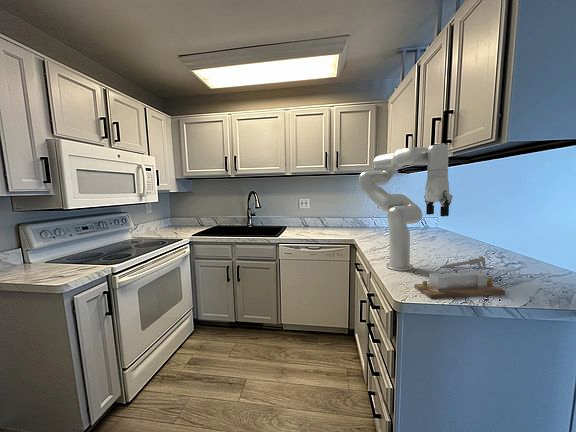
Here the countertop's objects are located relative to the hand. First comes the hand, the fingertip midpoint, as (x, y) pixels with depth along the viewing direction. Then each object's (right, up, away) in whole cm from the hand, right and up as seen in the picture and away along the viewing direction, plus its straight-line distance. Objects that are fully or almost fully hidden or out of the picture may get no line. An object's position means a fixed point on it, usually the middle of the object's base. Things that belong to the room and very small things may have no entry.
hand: (437, 215), depth 110 cm
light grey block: (+2, -28, -11) cm, 30 cm away
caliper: (+23, -26, +19) cm, 40 cm away
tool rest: (+2, -29, -10) cm, 31 cm away
